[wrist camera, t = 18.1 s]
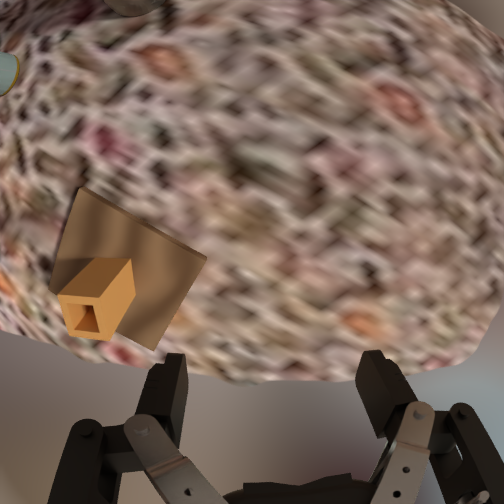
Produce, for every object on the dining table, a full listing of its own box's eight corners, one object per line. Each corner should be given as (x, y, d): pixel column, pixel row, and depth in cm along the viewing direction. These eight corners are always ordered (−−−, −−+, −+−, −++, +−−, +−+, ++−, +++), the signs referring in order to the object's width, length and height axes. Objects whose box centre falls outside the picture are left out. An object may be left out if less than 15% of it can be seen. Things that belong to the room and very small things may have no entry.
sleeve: (101, 293, 40) (69, 335, 30) (95, 257, 39) (57, 294, 28) (135, 295, 41) (109, 340, 30) (130, 258, 39) (99, 297, 29)
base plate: (52, 285, 41) (32, 304, 35) (84, 186, 36) (60, 195, 30) (155, 345, 46) (146, 372, 40) (207, 257, 41) (201, 278, 35)
